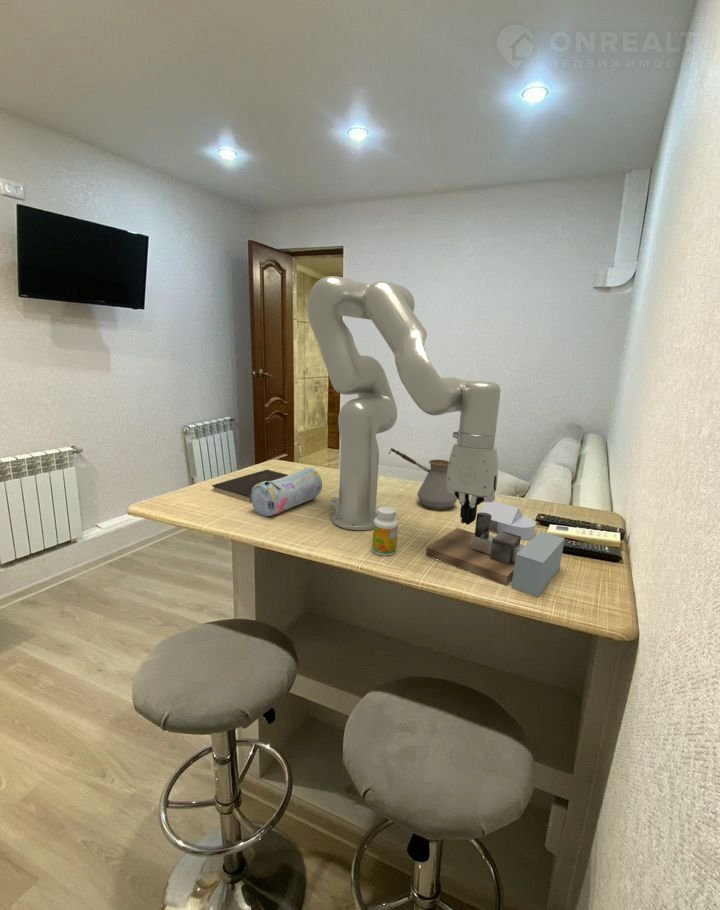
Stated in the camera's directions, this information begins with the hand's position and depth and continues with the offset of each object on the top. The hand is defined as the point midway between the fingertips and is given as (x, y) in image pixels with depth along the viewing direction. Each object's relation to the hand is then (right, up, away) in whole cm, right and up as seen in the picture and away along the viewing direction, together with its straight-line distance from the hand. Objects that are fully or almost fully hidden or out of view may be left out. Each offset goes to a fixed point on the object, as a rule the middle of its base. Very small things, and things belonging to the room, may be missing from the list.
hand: (467, 521), depth 98 cm
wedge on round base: (+14, -5, +16) cm, 22 cm away
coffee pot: (-6, +1, +33) cm, 34 cm away
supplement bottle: (-18, -7, +1) cm, 20 cm away
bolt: (+6, -6, -4) cm, 9 cm away
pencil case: (-44, 0, +24) cm, 50 cm away
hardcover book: (-55, +4, +39) cm, 67 cm away
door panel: (+2, -8, 0) cm, 8 cm away
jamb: (+12, -10, -8) cm, 18 cm away
